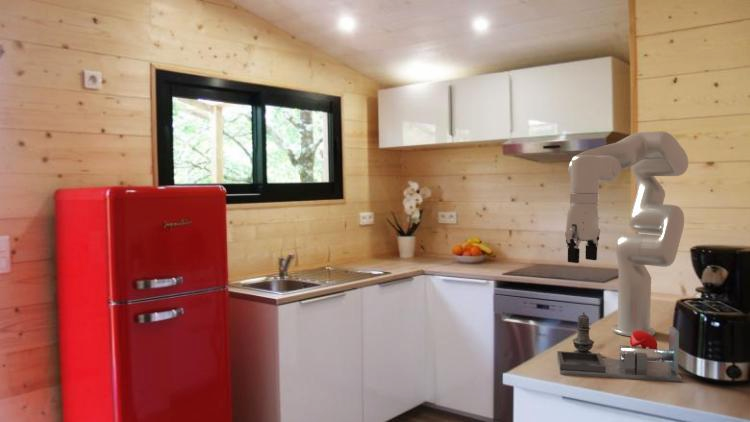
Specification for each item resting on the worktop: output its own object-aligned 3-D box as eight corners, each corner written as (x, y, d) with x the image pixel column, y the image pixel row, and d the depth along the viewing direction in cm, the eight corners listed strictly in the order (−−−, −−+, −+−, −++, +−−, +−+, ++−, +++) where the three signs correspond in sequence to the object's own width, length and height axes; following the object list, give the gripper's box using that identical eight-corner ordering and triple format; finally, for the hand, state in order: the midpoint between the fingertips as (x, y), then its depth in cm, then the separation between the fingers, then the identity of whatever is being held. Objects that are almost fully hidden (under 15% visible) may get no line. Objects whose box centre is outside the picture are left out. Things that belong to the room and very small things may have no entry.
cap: (623, 340, 172) (639, 333, 167) (630, 329, 176) (647, 322, 171) (641, 363, 171) (658, 357, 167) (648, 352, 175) (665, 345, 171)
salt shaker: (595, 357, 167) (596, 314, 166) (573, 356, 168) (574, 313, 167) (592, 350, 173) (592, 309, 172) (570, 349, 174) (571, 309, 173)
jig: (557, 359, 165) (557, 339, 165) (669, 366, 159) (669, 345, 159) (560, 373, 154) (560, 352, 153) (681, 382, 147) (682, 360, 147)
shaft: (619, 361, 158) (620, 324, 158) (672, 364, 155) (673, 326, 155) (622, 367, 154) (623, 329, 153) (677, 371, 151) (679, 332, 150)
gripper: (587, 199, 175) (585, 257, 176) (555, 199, 164) (553, 262, 165) (612, 199, 170) (610, 260, 171) (580, 200, 158) (578, 265, 159)
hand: (582, 261), depth 168 cm, fingers open, 9 cm apart
